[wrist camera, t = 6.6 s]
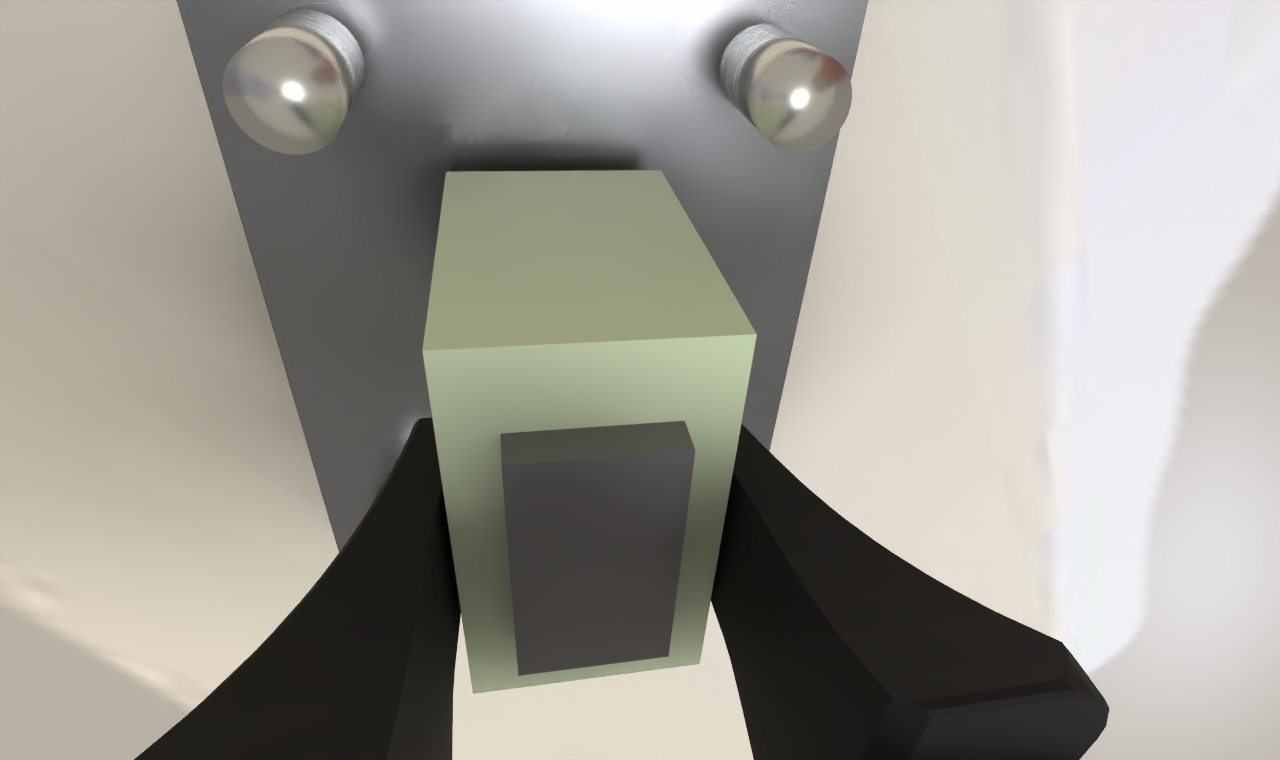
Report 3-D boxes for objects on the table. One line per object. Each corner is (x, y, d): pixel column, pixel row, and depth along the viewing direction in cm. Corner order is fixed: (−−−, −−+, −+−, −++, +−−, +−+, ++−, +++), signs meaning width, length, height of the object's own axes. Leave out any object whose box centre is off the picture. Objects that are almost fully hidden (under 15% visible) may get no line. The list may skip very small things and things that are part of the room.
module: (476, 460, 17) (472, 727, 12) (445, 171, 13) (419, 380, 8) (641, 447, 18) (707, 695, 12) (660, 170, 14) (773, 361, 8)
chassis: (348, 529, 21) (326, 641, 18) (179, -84, 12) (79, -64, 9) (742, 493, 23) (780, 588, 20) (851, -50, 14) (948, -24, 11)
